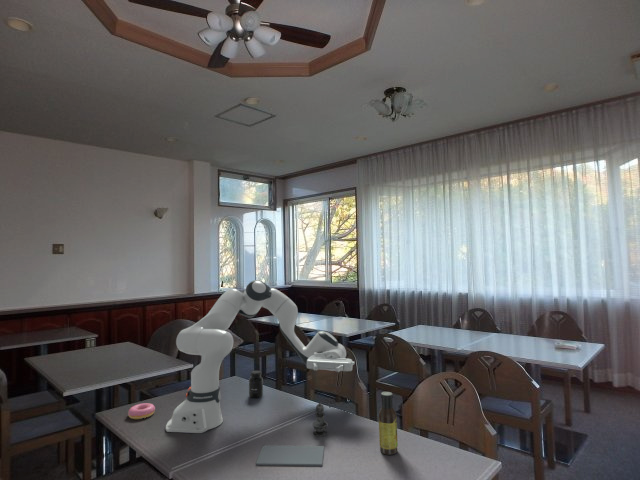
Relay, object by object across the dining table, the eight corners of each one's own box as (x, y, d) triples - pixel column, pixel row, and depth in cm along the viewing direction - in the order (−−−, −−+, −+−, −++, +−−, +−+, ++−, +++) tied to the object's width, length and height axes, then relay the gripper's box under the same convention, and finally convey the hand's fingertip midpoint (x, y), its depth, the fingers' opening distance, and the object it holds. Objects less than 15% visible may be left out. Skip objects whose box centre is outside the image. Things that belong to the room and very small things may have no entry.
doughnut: (137, 422, 164) (137, 412, 164) (122, 417, 170) (122, 407, 170) (160, 413, 174) (160, 404, 174) (145, 408, 179) (145, 399, 180)
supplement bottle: (251, 400, 187) (251, 374, 187) (247, 395, 193) (246, 371, 193) (265, 397, 190) (264, 372, 190) (260, 393, 196) (260, 368, 196)
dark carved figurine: (312, 430, 154) (311, 399, 154) (327, 429, 154) (326, 398, 155) (313, 437, 148) (312, 405, 149) (328, 436, 149) (328, 404, 149)
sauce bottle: (400, 454, 134) (399, 395, 135) (383, 456, 133) (382, 397, 134) (393, 445, 141) (391, 389, 141) (376, 447, 139) (375, 391, 140)
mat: (255, 465, 129) (255, 463, 129) (263, 447, 141) (263, 445, 141) (322, 466, 128) (322, 464, 128) (324, 447, 140) (324, 446, 140)
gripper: (355, 368, 175) (350, 378, 162) (311, 365, 180) (303, 375, 166) (355, 354, 175) (350, 363, 162) (311, 352, 180) (303, 360, 166)
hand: (326, 369), depth 164 cm, fingers open, 8 cm apart
